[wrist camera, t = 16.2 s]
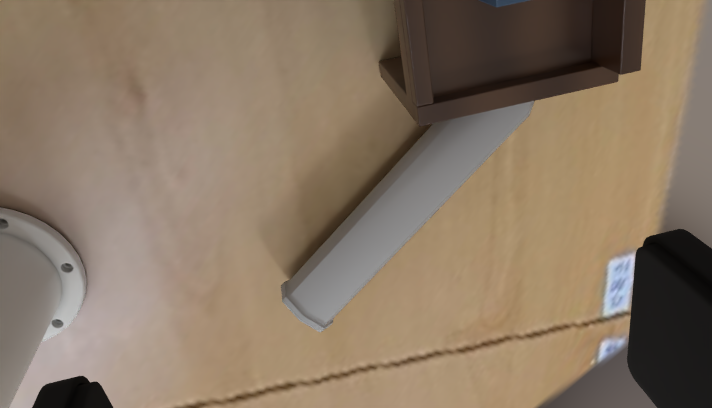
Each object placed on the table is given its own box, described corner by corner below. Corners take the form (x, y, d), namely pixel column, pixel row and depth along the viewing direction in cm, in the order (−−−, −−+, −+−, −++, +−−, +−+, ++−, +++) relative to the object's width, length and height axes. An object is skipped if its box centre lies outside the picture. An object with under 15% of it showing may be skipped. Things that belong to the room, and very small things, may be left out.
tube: (502, 49, 38) (273, 299, 44) (558, 102, 39) (325, 341, 45) (490, 50, 43) (286, 273, 49) (540, 96, 44) (333, 312, 50)
